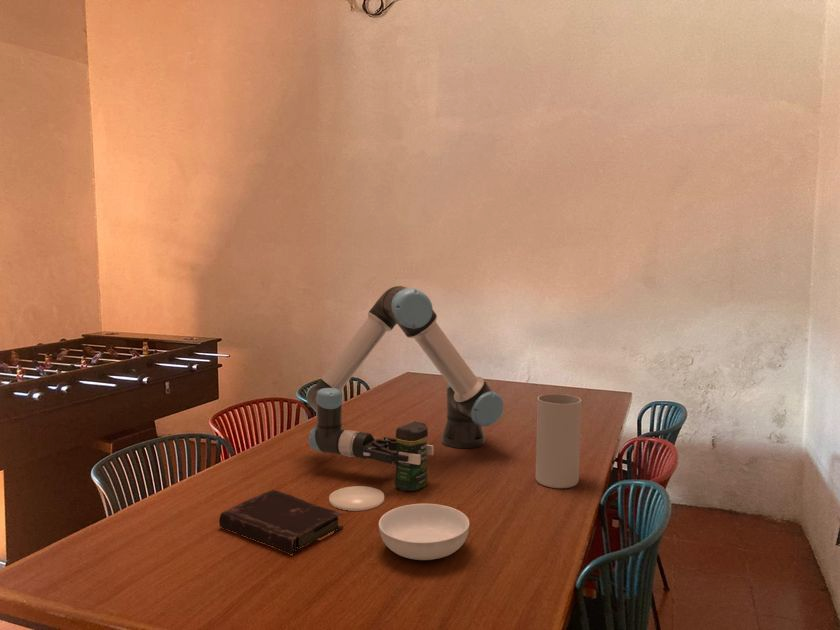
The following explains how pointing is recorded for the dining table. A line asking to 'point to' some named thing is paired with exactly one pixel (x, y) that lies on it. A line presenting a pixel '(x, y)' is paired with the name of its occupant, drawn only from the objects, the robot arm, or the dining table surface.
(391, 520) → the serving bowl
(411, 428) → the coffee jar
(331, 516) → the diary
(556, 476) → the cylinder vase
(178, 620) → the dining table surface
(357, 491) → the ceramic trivet
